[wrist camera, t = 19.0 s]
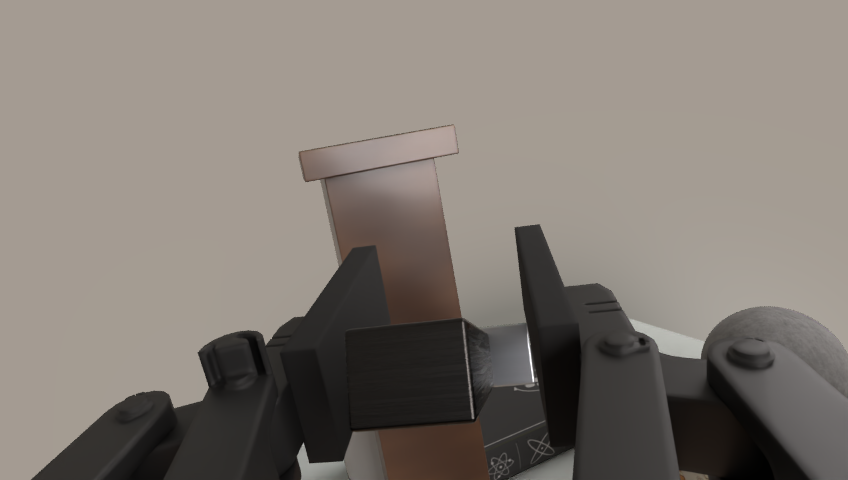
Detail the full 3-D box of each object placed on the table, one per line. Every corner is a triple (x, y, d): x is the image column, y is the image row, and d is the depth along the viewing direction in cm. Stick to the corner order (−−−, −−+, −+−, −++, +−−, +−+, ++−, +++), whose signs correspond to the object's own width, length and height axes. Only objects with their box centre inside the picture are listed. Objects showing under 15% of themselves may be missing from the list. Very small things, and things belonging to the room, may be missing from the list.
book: (477, 495, 41) (471, 461, 40) (407, 418, 54) (402, 392, 54) (677, 400, 49) (674, 370, 48) (573, 354, 62) (570, 330, 62)
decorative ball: (761, 385, 48) (753, 282, 47) (888, 434, 39) (885, 307, 37) (678, 422, 45) (667, 312, 43) (796, 484, 36) (788, 348, 34)
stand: (404, 635, 30) (298, 151, 25) (381, 531, 39) (298, 156, 34) (531, 587, 32) (454, 124, 27) (481, 498, 40) (416, 135, 36)
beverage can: (433, 471, 45) (407, 340, 43) (364, 506, 42) (333, 367, 40) (401, 441, 50) (377, 324, 48) (338, 469, 48) (310, 346, 45)
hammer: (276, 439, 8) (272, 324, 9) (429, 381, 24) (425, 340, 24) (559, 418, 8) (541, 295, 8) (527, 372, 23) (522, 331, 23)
